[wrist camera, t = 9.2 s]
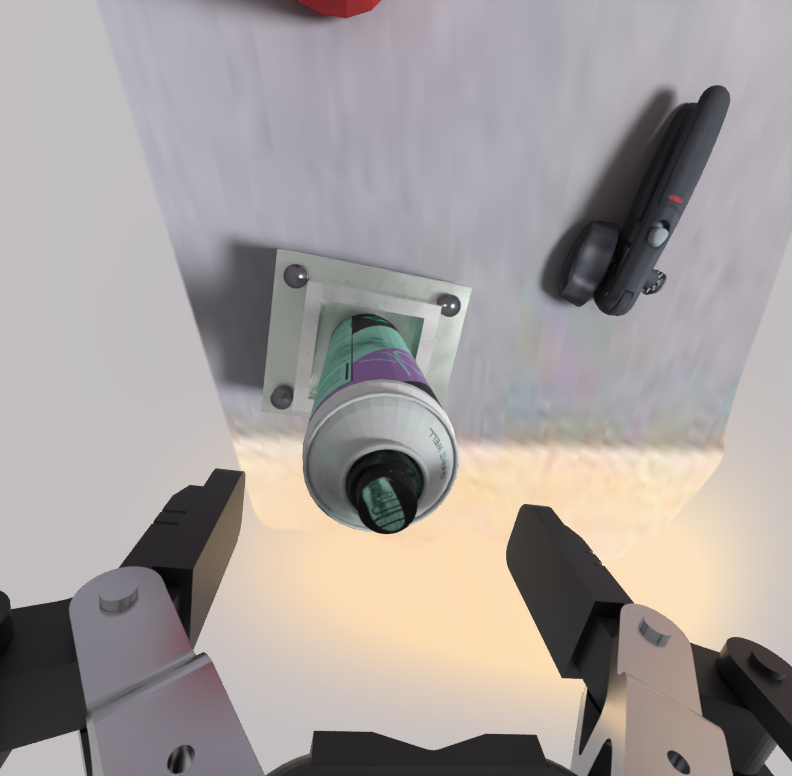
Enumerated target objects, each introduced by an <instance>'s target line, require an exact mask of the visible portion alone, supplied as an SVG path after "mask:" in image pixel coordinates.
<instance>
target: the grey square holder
mask: <svg viewBox="0 0 792 776" xmlns="http://www.w3.org/2000/svg"><path fill="white" fill-rule="evenodd" d="M471 289H472V288H470V287H466V286H463V285H459V284H456V283H451V282H446V281H441V280H436V279H431V278H426V277H421V276H416V275H411V274H406V273H401V272H396V271H391V270H386V269H381V268H376V267H371V266H366V265H361V264H356V263H351V262H346V261H341V260H336V259H331V258H326V257H321V256H316V255H311V254H306V253H301V252H296V251H291V250H282V249H277V257H276V267H275V277H274V287H273V297H272V307H271V317H270V327H269V337H268V347H267V357H266V367H265V377H264V387H263V397H262V407H261V411H262V412H270V413H277V414H284V415H292V416H299V417H306V418H310V416H311V412H312V408H313V404H314V400H315V396H316V393H317V389H318V385H319V381H320V377H321V373H322V369H323V366H324V362H325V358H326V354H327V350H328V346H329V343H330V339H331V336H332V334H333V332H334V330H335V329H336V327H337V326H338V325H339V324H340V323H341V322H342V321H343V320H345V319H346V318H348V317H350V316H352V315H355V314H358V313H373V314H377V315H380V316H382V317H384V318H385V319H387V320H388V321H389V322H390V323H392V324H393V325H394V327H395V328H396V329H397V330H398V332H399V334H400V336H401V337H402V339H403V341H404V342H405V344H406V346H407V348H408V349H409V351H410V353H411V355H412V356H413V358H414V360H415V361H416V363H417V365H418V367H419V368H420V370H421V372H422V373H423V375H424V377H425V379H426V380H427V382H428V384H429V385H430V387H431V389H432V391H433V392H434V394H435V396H436V398H437V399H438V401H439V403H440V404H441V406H442V408H443V404H444V400H445V396H446V392H447V388H448V384H449V379H450V375H451V371H452V367H453V363H454V359H455V355H456V351H457V347H458V343H459V339H460V334H461V330H462V326H463V322H464V318H465V314H466V310H467V306H468V302H469V298H470V294H471Z"/></svg>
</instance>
